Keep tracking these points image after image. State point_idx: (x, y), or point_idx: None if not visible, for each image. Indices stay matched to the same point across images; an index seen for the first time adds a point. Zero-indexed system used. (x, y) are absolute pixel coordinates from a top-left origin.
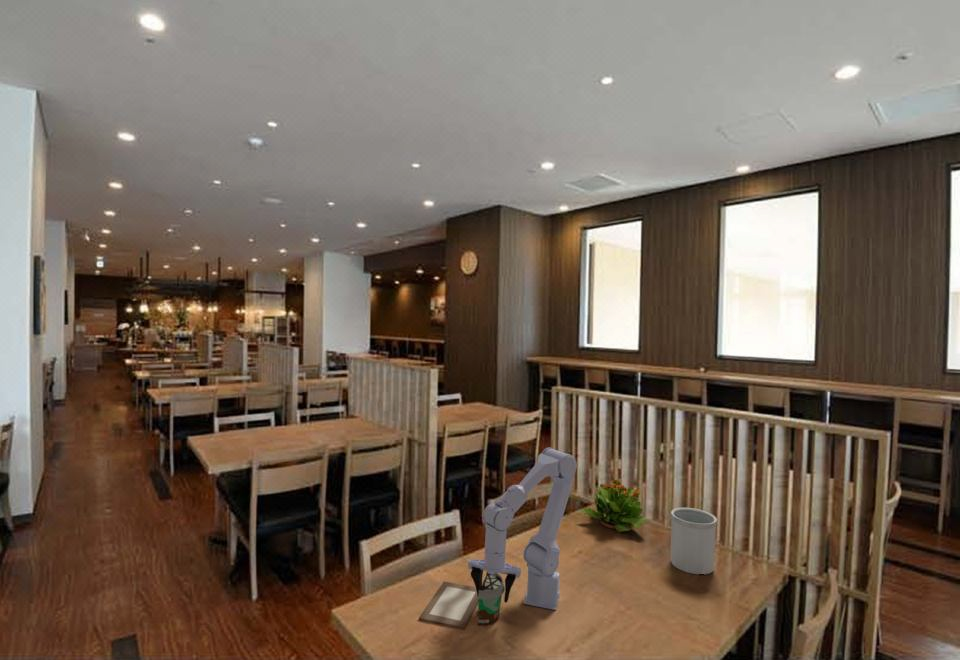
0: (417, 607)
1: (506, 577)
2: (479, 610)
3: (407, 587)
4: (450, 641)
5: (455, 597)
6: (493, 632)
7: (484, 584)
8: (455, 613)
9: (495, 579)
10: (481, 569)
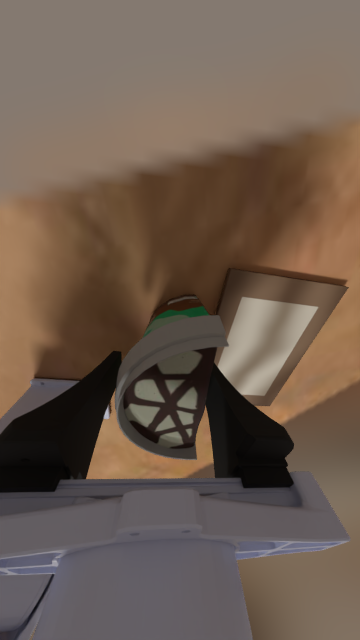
0: (333, 329)
1: (59, 459)
2: (199, 306)
3: (338, 380)
4: (271, 201)
5: (250, 371)
6: (151, 273)
7: (198, 396)
8: (253, 321)
9: (158, 428)
10: (233, 480)
